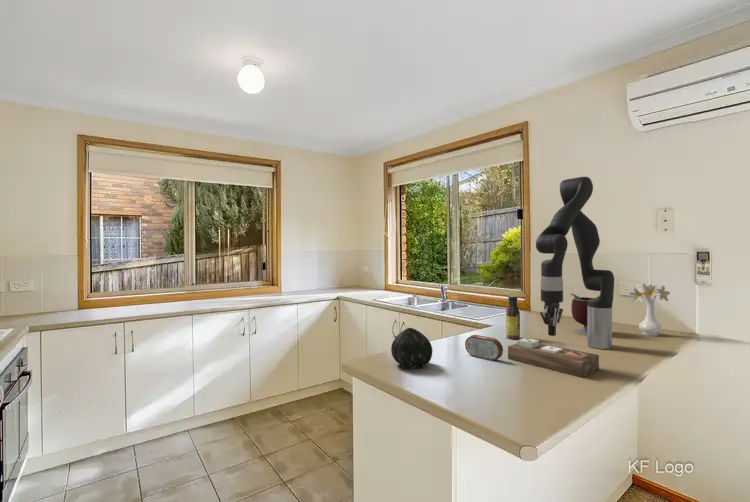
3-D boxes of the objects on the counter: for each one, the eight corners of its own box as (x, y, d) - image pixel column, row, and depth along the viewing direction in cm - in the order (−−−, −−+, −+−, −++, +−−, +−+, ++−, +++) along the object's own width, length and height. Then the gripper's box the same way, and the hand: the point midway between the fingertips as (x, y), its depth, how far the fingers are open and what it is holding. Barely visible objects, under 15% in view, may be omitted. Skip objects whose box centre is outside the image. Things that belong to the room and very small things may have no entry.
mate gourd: (591, 329, 197) (591, 291, 197) (609, 335, 183) (609, 294, 183) (562, 330, 196) (562, 291, 196) (578, 336, 182) (579, 295, 182)
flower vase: (625, 334, 187) (625, 283, 187) (646, 330, 195) (646, 281, 195) (655, 339, 175) (655, 286, 175) (675, 335, 184) (676, 284, 184)
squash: (423, 342, 149) (402, 316, 145) (446, 354, 136) (423, 325, 131) (399, 370, 145) (376, 344, 140) (420, 384, 132) (395, 356, 127)
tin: (503, 361, 144) (503, 339, 143) (499, 363, 141) (499, 340, 141) (467, 353, 154) (467, 332, 154) (463, 355, 151) (463, 334, 151)
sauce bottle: (521, 340, 175) (521, 297, 175) (507, 339, 177) (507, 297, 176) (518, 336, 182) (518, 295, 182) (505, 336, 183) (505, 295, 183)
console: (526, 352, 155) (527, 340, 155) (598, 369, 134) (598, 355, 134) (507, 359, 146) (507, 346, 146) (581, 377, 125) (581, 362, 125)
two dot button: (525, 346, 151) (525, 337, 151) (539, 349, 146) (539, 340, 146) (517, 349, 147) (517, 339, 147) (531, 352, 143) (531, 342, 143)
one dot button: (547, 354, 144) (547, 345, 144) (562, 358, 139) (562, 348, 139) (540, 357, 140) (540, 347, 140) (555, 361, 136) (555, 350, 136)
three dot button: (572, 360, 137) (572, 350, 137) (588, 364, 132) (588, 353, 132) (565, 363, 133) (565, 352, 133) (581, 367, 129) (581, 356, 129)
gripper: (550, 286, 146) (550, 330, 147) (532, 289, 138) (533, 336, 138) (570, 287, 141) (570, 334, 141) (553, 291, 132) (553, 340, 133)
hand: (552, 335), depth 140 cm, fingers closed
